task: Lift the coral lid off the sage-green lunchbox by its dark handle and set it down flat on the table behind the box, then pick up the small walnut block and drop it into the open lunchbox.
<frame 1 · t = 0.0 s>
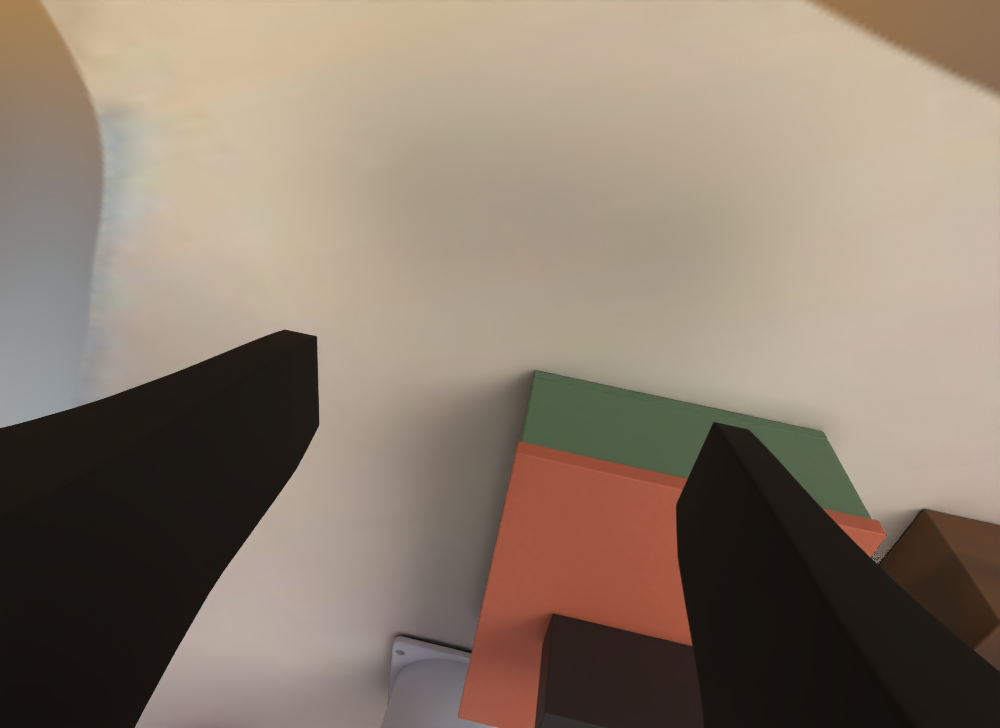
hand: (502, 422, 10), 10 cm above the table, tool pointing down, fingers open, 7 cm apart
lunchbox lid: (625, 632, 21), point 4 cm above the table, touching lunchbox
lunchbox: (621, 541, 25), on the table
walnut block: (951, 563, 23), on the table
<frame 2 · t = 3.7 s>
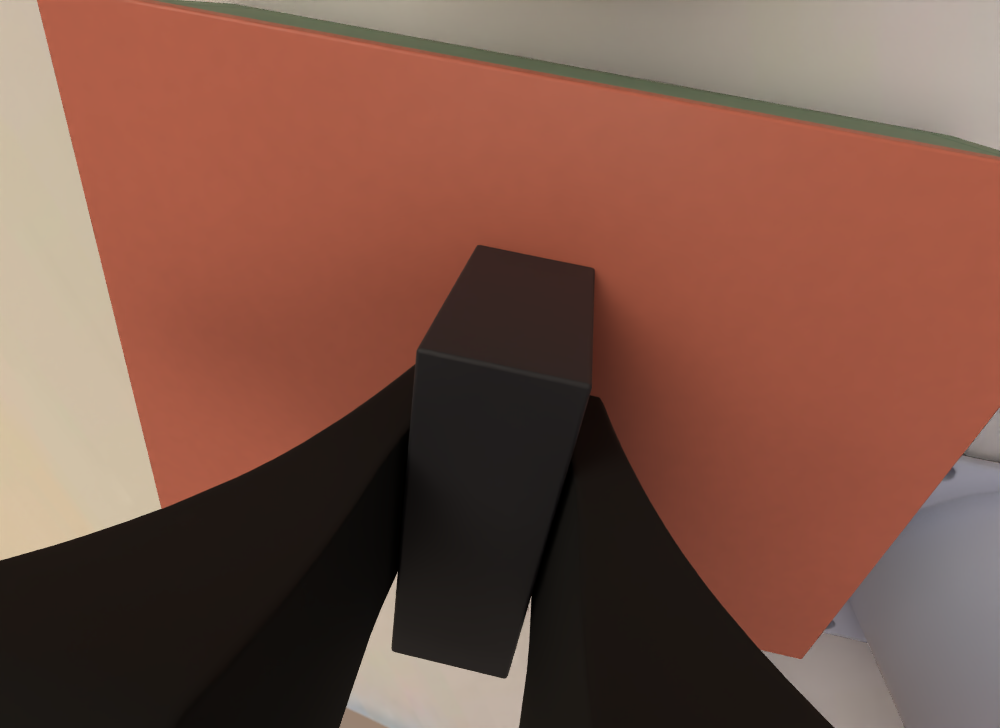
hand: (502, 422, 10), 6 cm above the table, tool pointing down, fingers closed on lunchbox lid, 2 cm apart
lunchbox lid: (511, 384, 11), point 4 cm above the table, touching gripper, lunchbox
lunchbox: (534, 294, 15), on the table
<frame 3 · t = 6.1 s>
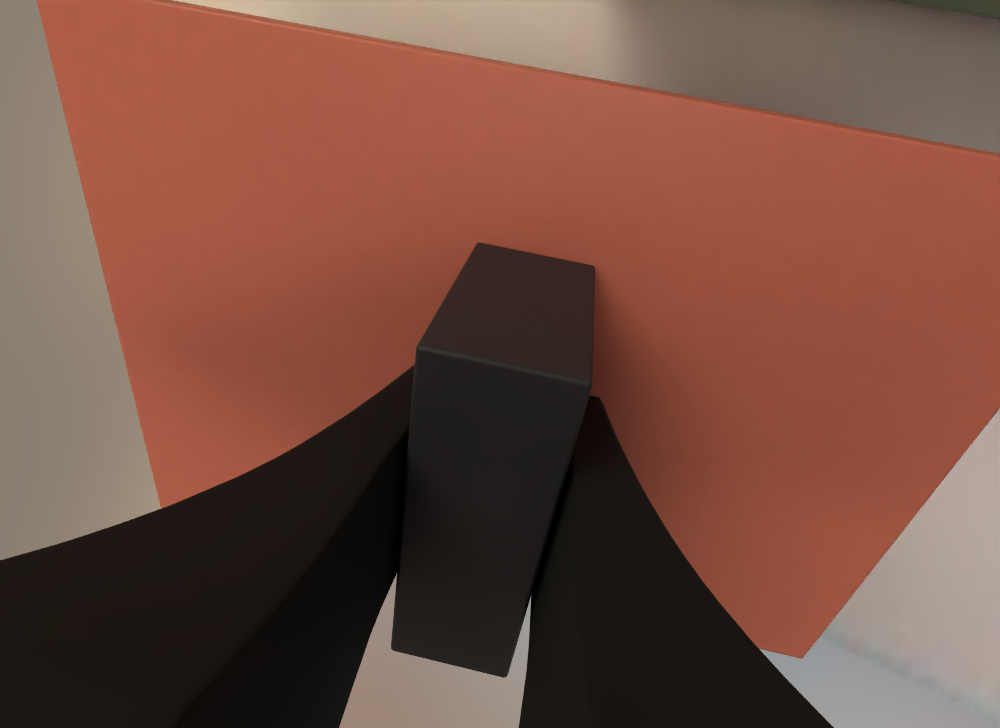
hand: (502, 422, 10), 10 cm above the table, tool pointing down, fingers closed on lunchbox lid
lunchbox lid: (511, 382, 11), point 9 cm above the table, touching gripper
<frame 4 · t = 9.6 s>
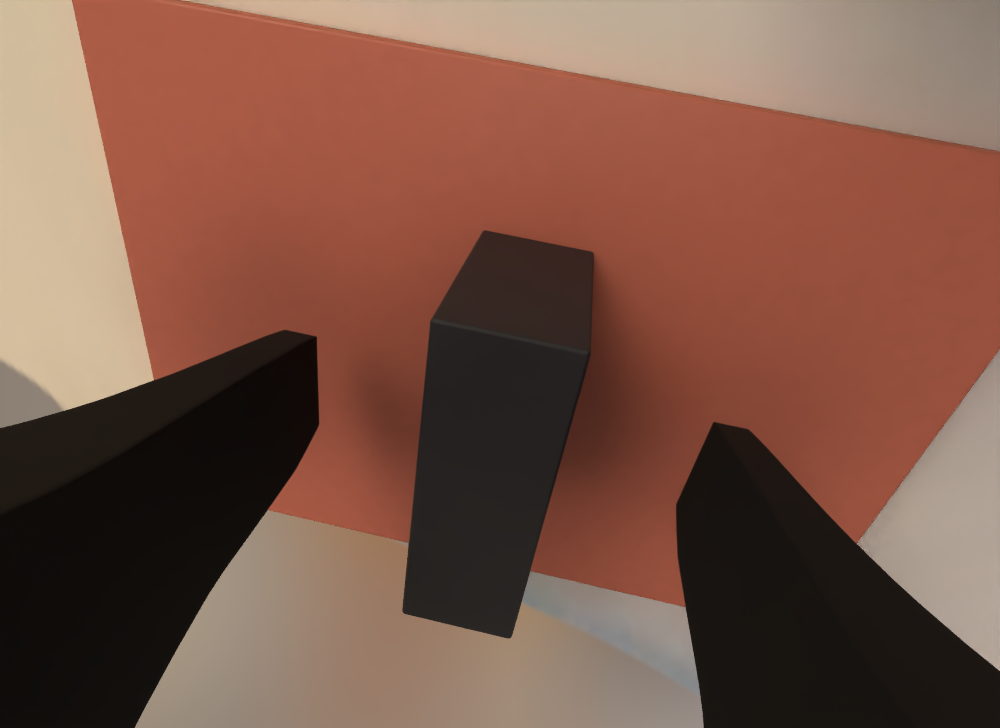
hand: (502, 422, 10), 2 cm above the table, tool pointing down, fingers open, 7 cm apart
lunchbox lid: (514, 365, 12), on the table
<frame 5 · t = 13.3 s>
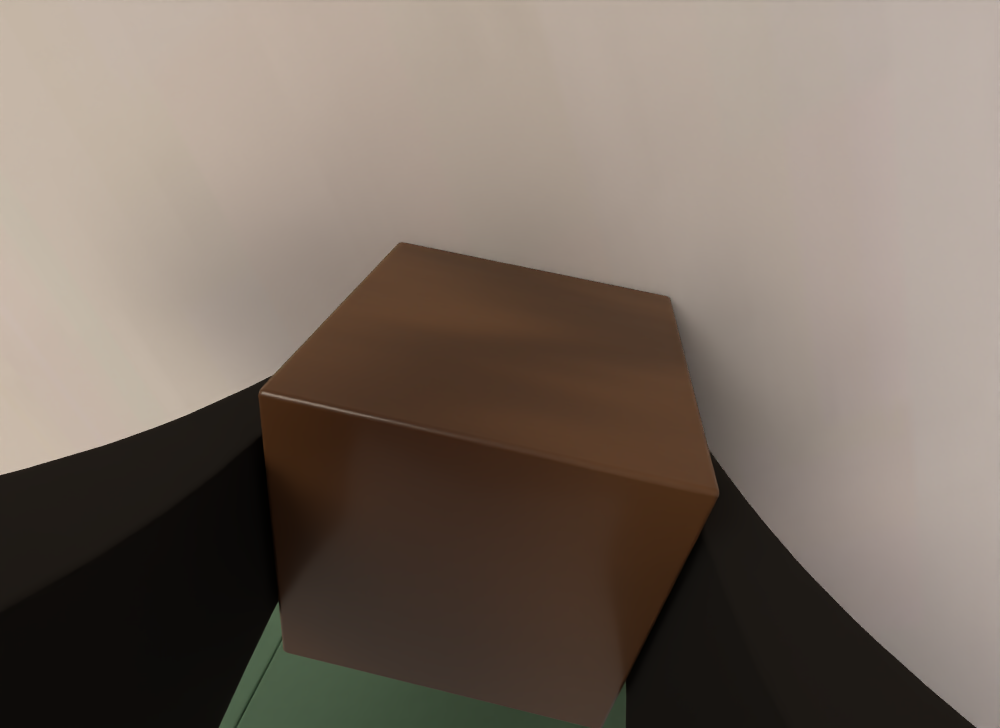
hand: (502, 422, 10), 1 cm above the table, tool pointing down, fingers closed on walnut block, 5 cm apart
walnut block: (511, 381, 11), on the table, touching gripper
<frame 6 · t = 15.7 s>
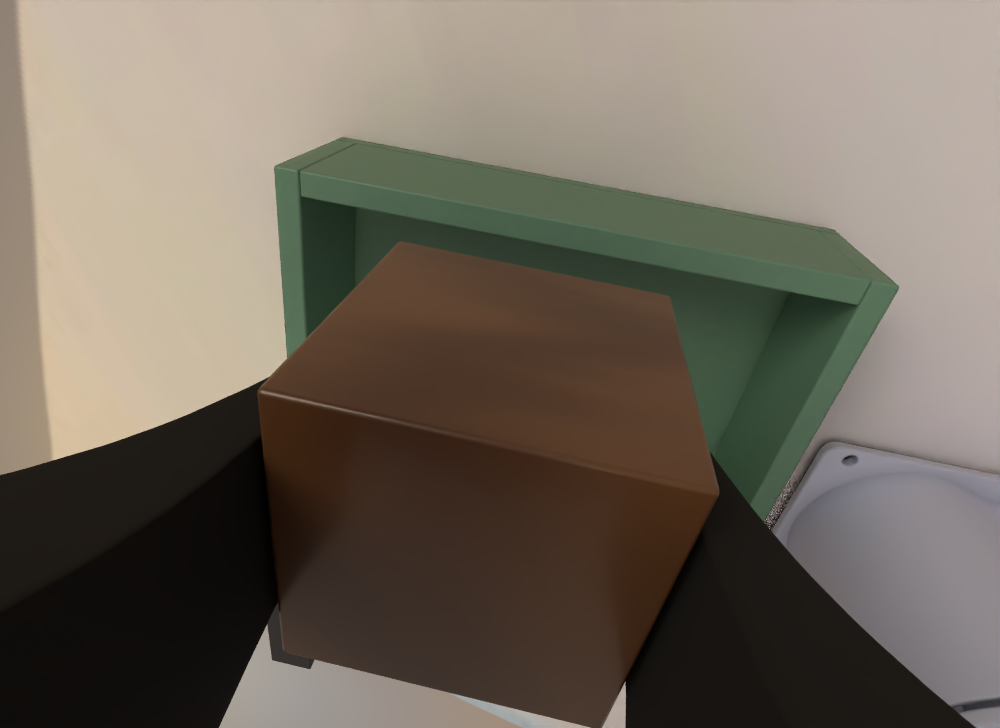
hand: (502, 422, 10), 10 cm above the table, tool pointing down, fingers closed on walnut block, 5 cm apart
lunchbox lid: (324, 557, 30), on the table
lunchbox: (549, 331, 21), on the table
walnut block: (510, 380, 11), point 9 cm above the table, touching gripper
when the fingers open (5 cm above the table, at t = 18.2 s): walnut block drops 4 cm, resting on lunchbox.
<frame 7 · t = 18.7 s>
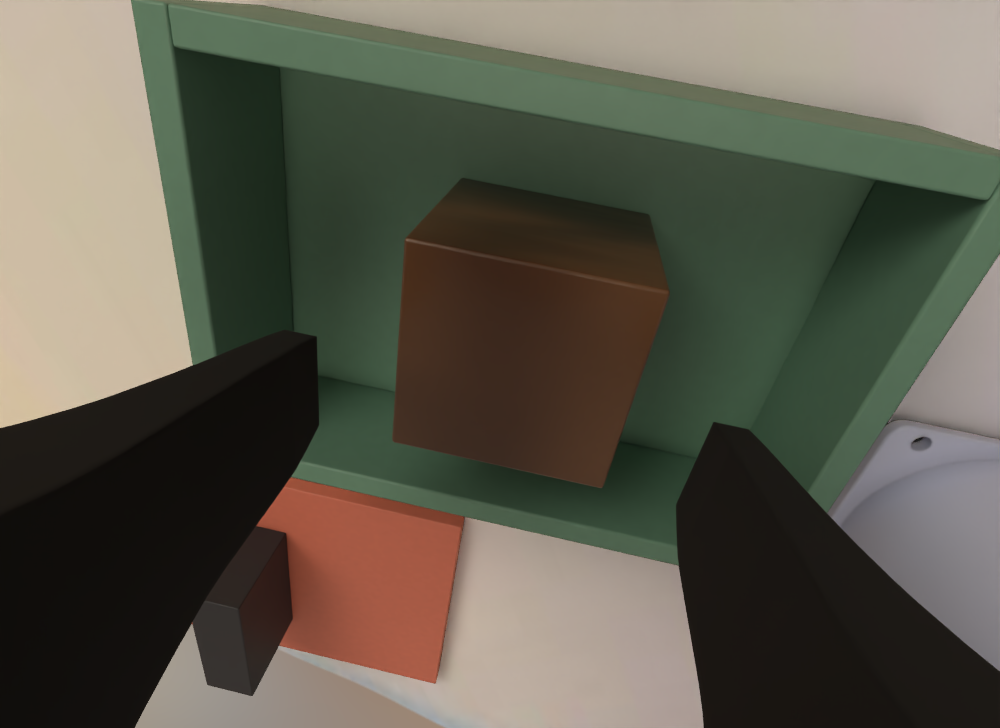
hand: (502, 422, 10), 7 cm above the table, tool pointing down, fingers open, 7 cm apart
lunchbox lid: (275, 562, 25), on the table
lunchbox: (538, 276, 16), on the table
walnut block: (537, 283, 16), resting on lunchbox
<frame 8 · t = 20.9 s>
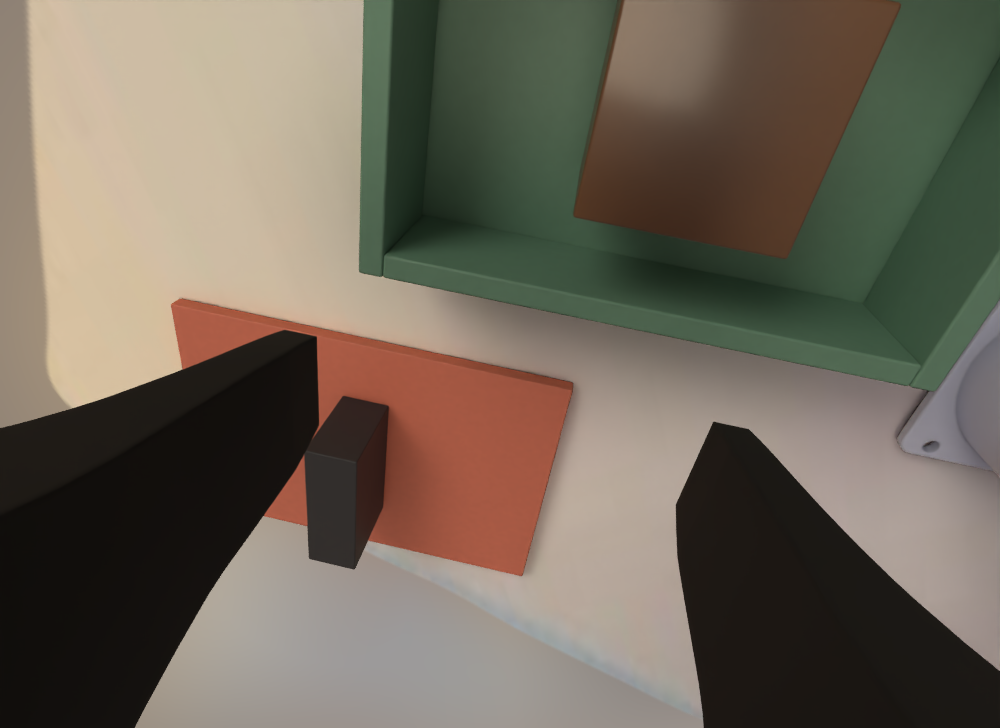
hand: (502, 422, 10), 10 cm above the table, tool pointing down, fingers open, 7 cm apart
lunchbox lid: (369, 445, 25), on the table
lunchbox: (683, 96, 16), on the table
walnut block: (686, 98, 16), resting on lunchbox
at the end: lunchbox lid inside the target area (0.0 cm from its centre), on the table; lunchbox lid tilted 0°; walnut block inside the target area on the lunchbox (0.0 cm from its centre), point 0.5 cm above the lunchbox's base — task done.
